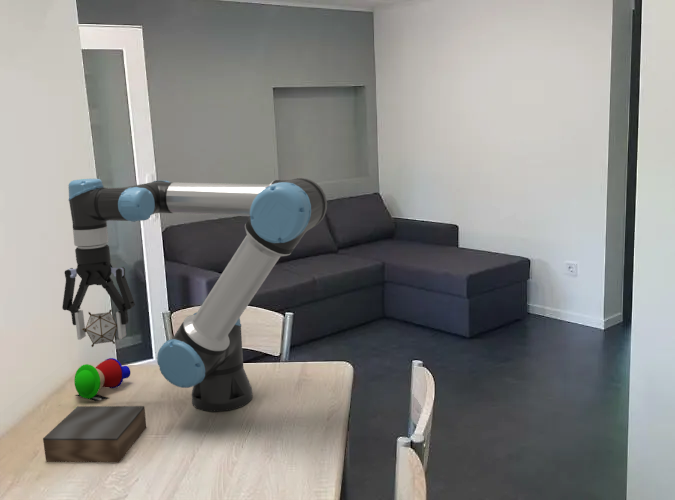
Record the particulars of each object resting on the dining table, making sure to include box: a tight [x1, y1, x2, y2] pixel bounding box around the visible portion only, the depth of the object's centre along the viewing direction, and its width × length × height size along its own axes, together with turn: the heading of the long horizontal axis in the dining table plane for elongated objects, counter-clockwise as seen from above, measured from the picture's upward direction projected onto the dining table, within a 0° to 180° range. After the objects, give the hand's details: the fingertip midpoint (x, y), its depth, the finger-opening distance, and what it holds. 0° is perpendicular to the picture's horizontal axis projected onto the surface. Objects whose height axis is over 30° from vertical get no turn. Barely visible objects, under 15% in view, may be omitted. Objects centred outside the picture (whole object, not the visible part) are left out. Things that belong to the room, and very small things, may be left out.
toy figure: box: [73, 357, 131, 402], centre depth 178 cm, size 9×10×15 cm
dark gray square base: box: [42, 405, 147, 463], centre depth 149 cm, size 16×16×5 cm
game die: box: [82, 309, 118, 348], centre depth 161 cm, size 9×8×10 cm
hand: (102, 337), depth 162 cm, fingers closed on game die, 9 cm apart
